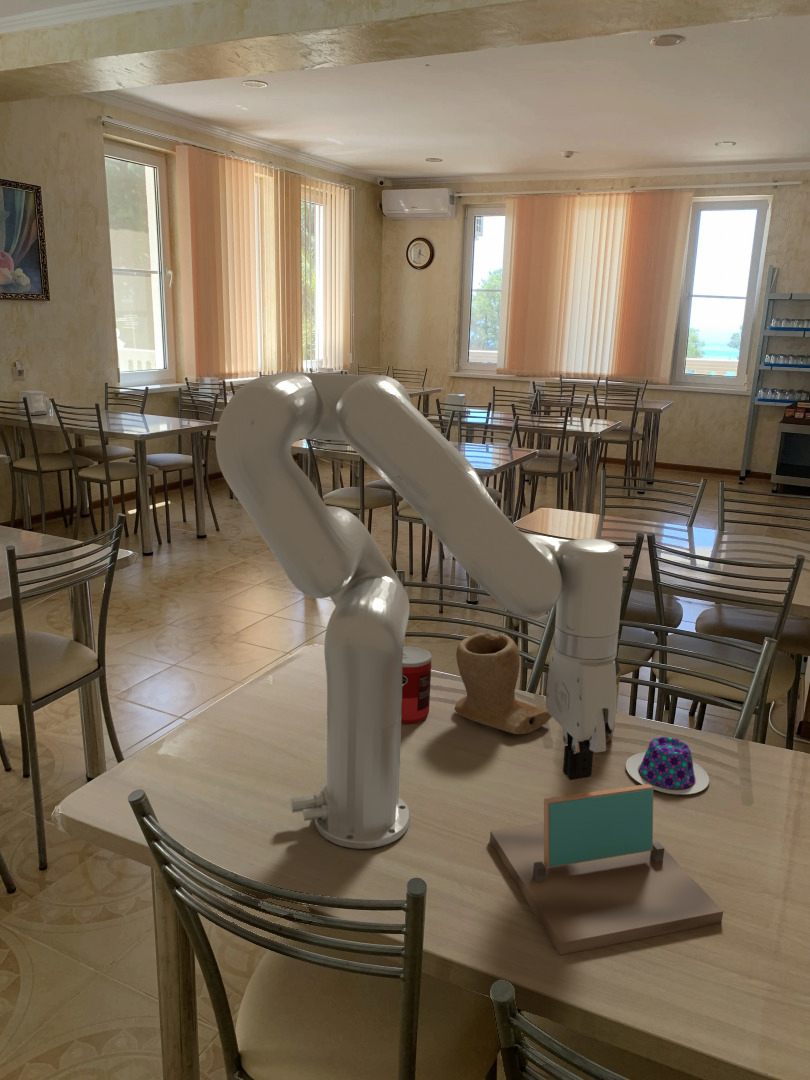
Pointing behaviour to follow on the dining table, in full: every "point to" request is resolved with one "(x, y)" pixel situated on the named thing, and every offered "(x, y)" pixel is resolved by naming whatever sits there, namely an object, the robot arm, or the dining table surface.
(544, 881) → the board
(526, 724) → the clay platform pipe
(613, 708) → the robot arm
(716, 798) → the dining table surface
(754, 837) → the dining table surface
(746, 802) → the dining table surface
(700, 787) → the patterned brimmed hat
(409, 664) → the canned food
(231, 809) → the dining table surface
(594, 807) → the tile
